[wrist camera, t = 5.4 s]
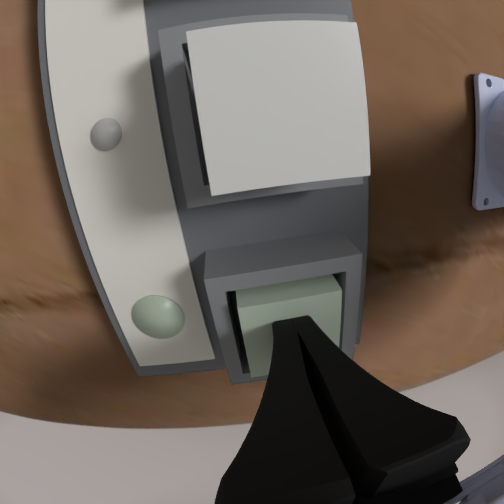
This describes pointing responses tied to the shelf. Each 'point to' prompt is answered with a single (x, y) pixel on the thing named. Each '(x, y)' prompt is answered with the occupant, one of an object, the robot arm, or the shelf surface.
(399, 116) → the shelf surface
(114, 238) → the pattern card
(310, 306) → the sage button
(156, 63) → the button board
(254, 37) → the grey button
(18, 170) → the shelf surface
